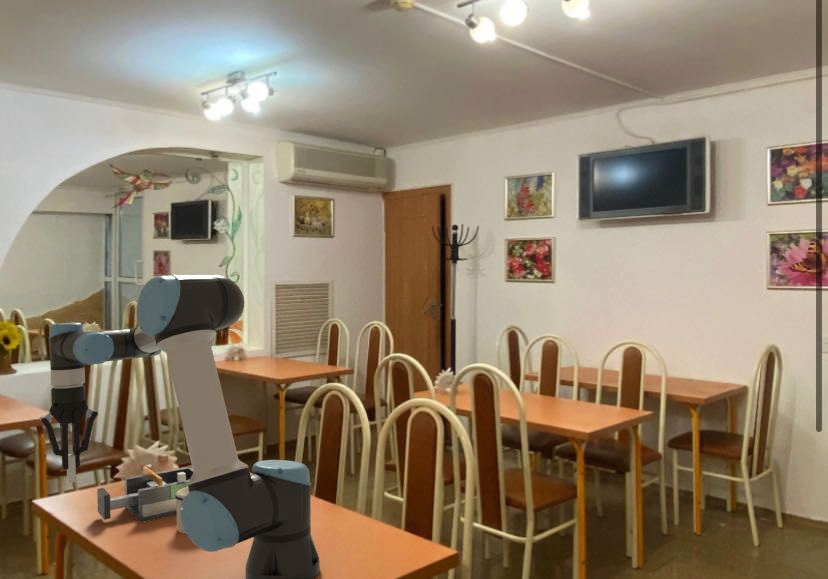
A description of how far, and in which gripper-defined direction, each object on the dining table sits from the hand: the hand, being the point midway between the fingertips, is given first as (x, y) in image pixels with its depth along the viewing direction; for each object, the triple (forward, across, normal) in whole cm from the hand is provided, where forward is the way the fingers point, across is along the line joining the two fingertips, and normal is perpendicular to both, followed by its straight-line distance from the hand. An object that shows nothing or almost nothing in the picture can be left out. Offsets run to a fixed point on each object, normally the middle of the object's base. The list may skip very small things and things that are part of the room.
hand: (71, 481), depth 169 cm
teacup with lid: (+13, -25, +18) cm, 34 cm away
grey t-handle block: (+10, -15, -1) cm, 18 cm away
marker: (+4, -25, +6) cm, 26 cm away
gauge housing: (+12, -23, -1) cm, 26 cm away
